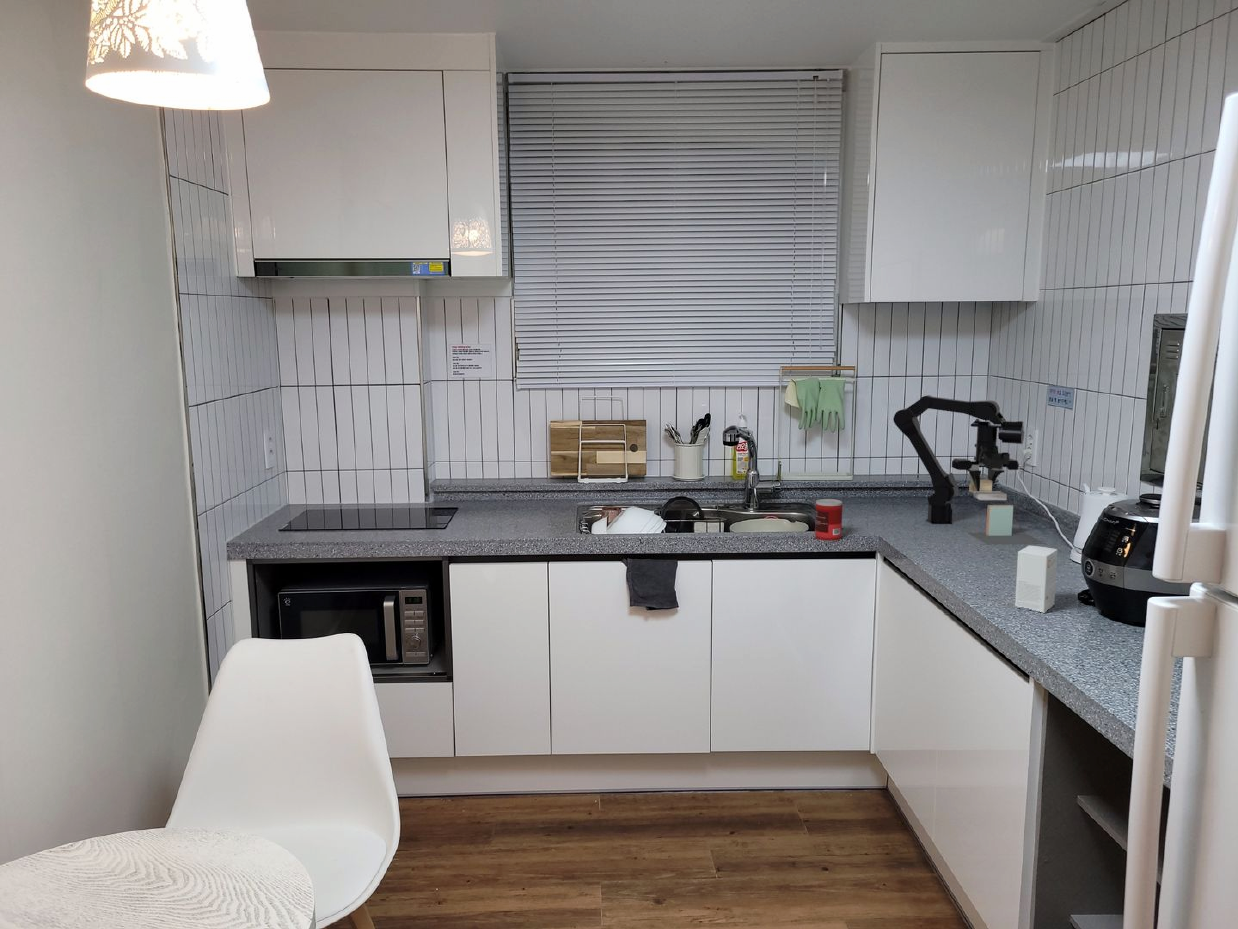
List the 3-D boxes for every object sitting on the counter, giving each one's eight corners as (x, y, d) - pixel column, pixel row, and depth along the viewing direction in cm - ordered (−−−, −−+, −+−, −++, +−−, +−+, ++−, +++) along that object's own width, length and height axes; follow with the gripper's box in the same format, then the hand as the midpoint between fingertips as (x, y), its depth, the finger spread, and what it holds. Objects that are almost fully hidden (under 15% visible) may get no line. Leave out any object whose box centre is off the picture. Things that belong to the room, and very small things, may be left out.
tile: (988, 536, 271) (989, 506, 270) (985, 534, 273) (987, 505, 272) (1011, 535, 271) (1013, 506, 270) (1009, 534, 273) (1011, 504, 272)
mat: (987, 545, 261) (987, 544, 261) (967, 533, 276) (967, 532, 276) (1046, 545, 261) (1047, 544, 261) (1023, 533, 276) (1023, 532, 276)
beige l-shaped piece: (961, 491, 291) (962, 475, 290) (986, 491, 291) (987, 475, 290) (980, 500, 276) (981, 483, 275) (1006, 500, 276) (1007, 483, 275)
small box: (1025, 600, 208) (1028, 544, 206) (1054, 605, 204) (1058, 548, 202) (1013, 608, 202) (1017, 551, 200) (1044, 614, 198) (1048, 555, 196)
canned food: (842, 535, 274) (843, 499, 272) (839, 541, 266) (841, 504, 265) (816, 534, 276) (817, 498, 275) (813, 539, 269) (814, 503, 267)
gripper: (966, 445, 273) (963, 496, 275) (1028, 445, 273) (1025, 496, 275) (952, 440, 284) (949, 490, 286) (1012, 440, 284) (1009, 490, 286)
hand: (983, 491), depth 283 cm, fingers closed on beige l-shaped piece, 3 cm apart
